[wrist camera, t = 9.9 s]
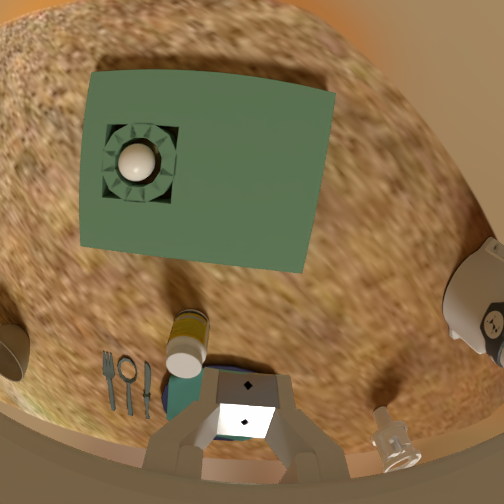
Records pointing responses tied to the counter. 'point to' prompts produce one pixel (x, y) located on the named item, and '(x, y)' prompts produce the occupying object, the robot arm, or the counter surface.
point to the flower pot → (13, 352)
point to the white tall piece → (393, 441)
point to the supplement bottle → (188, 343)
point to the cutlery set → (168, 390)
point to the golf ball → (136, 162)
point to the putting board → (205, 166)
